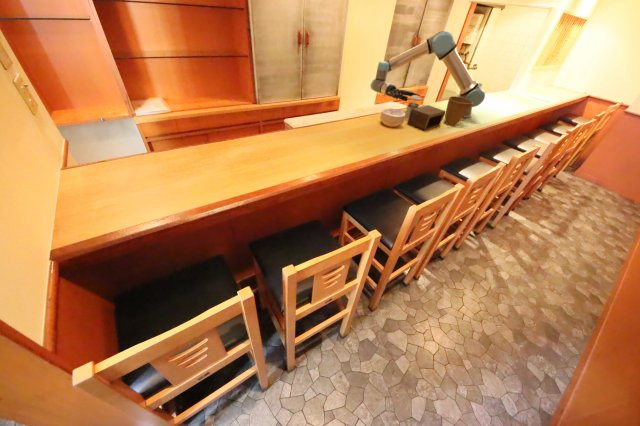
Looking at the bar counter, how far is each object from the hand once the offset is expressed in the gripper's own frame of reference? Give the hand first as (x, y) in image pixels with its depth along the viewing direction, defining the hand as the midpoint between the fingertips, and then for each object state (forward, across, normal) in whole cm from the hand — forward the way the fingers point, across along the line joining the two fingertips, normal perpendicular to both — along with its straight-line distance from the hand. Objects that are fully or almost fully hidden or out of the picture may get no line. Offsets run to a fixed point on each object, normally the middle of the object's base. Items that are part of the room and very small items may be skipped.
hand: (413, 98), depth 164 cm
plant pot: (+22, -22, -14) cm, 34 cm away
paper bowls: (+3, +22, -14) cm, 26 cm away
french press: (+2, 0, -14) cm, 14 cm away
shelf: (+14, +1, -13) cm, 20 cm away
